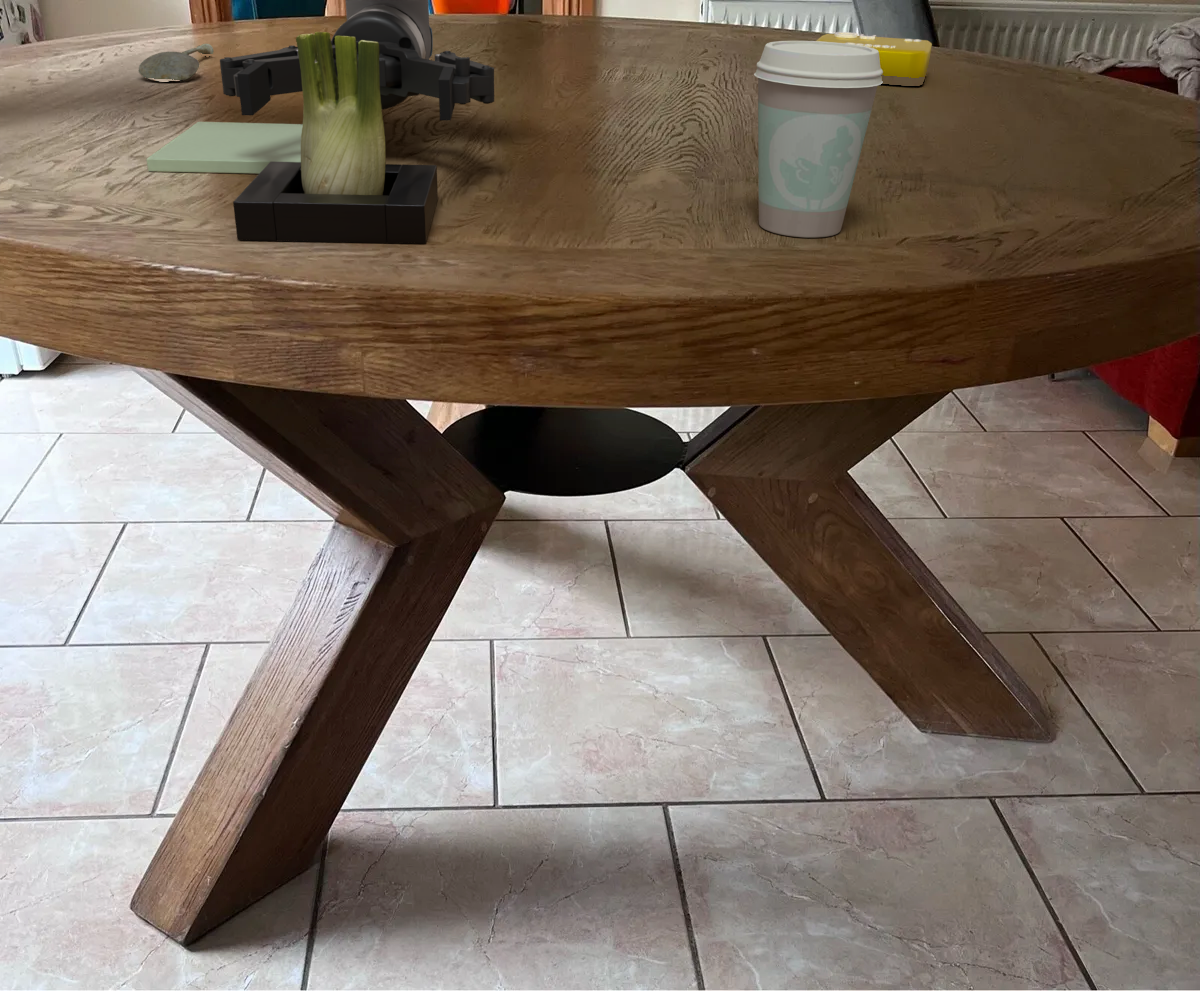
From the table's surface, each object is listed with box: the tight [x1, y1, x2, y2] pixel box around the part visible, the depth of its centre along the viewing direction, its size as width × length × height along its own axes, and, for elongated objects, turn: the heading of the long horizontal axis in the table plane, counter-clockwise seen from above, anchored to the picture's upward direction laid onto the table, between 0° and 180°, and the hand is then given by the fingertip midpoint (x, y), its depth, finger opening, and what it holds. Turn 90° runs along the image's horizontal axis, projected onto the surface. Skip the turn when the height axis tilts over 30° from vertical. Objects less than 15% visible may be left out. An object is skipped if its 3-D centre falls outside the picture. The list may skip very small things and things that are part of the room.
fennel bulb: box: [295, 31, 387, 195], centre depth 75 cm, size 6×5×12 cm
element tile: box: [815, 31, 933, 78], centre depth 150 cm, size 15×15×5 cm
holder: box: [232, 162, 439, 245], centre depth 77 cm, size 12×12×2 cm
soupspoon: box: [137, 43, 215, 81], centre depth 135 cm, size 22×3×7 cm
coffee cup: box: [753, 40, 883, 239], centre depth 77 cm, size 9×9×12 cm
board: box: [145, 121, 303, 175], centre depth 95 cm, size 16×16×1 cm
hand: (345, 97), depth 77 cm, fingers open, 13 cm apart
